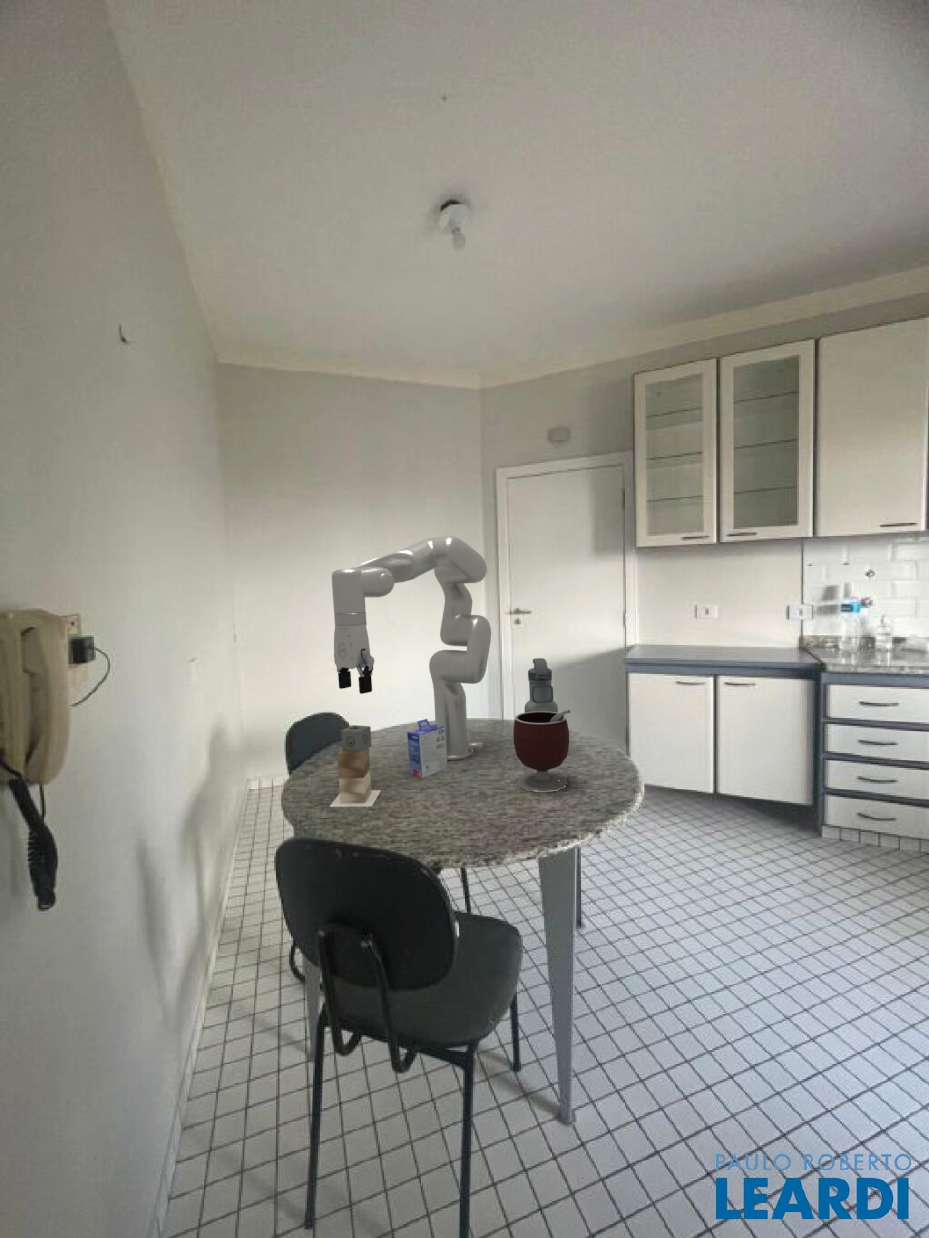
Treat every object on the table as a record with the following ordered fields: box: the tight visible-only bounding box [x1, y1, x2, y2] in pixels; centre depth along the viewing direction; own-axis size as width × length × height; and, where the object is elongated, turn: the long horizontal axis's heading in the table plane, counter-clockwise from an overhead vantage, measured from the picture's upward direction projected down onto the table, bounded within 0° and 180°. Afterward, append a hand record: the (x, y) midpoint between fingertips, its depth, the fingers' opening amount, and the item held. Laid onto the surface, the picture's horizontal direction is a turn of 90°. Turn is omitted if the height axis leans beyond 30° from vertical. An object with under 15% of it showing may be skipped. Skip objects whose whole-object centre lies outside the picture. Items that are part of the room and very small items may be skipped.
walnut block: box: [337, 748, 371, 779], centre depth 133 cm, size 6×6×6 cm
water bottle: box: [524, 657, 559, 713], centre depth 163 cm, size 10×10×28 cm
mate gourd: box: [512, 709, 571, 791], centre depth 138 cm, size 16×14×20 cm
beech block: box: [338, 769, 372, 803], centre depth 133 cm, size 6×6×6 cm
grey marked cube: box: [340, 724, 372, 753], centre depth 133 cm, size 5×5×5 cm
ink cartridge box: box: [407, 718, 448, 778], centre depth 151 cm, size 10×6×14 cm, turn 137°
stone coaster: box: [329, 789, 382, 808], centre depth 133 cm, size 10×10×1 cm
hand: (355, 690), depth 135 cm, fingers open, 9 cm apart
